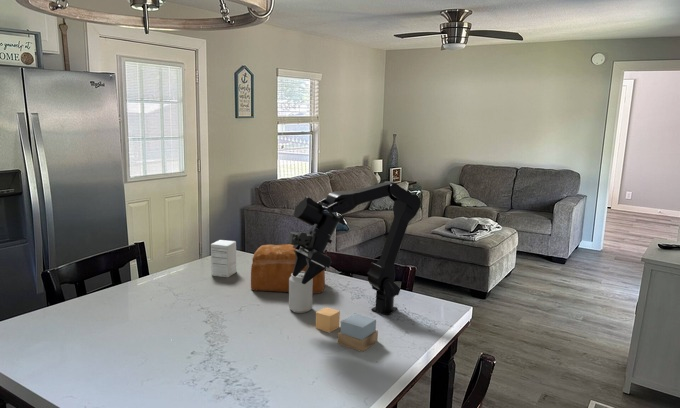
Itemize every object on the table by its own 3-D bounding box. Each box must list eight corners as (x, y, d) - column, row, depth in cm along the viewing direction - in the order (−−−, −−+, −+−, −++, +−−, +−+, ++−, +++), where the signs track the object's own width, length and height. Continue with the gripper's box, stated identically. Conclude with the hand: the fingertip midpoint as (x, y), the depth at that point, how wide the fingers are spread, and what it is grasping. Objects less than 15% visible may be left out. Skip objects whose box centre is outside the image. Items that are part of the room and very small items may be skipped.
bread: (257, 279, 189) (257, 239, 186) (326, 282, 187) (326, 242, 185) (248, 292, 175) (248, 248, 173) (322, 295, 174) (323, 252, 171)
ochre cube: (325, 322, 151) (326, 307, 150) (339, 327, 148) (339, 311, 147) (315, 328, 147) (316, 312, 146) (329, 332, 144) (329, 316, 143)
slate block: (354, 324, 142) (354, 313, 142) (375, 331, 138) (376, 319, 138) (340, 333, 137) (340, 321, 136) (362, 340, 133) (362, 327, 132)
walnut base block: (353, 334, 144) (353, 323, 143) (377, 342, 139) (377, 330, 139) (337, 345, 137) (337, 333, 137) (362, 353, 133) (362, 341, 132)
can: (308, 314, 156) (309, 278, 154) (285, 312, 158) (286, 276, 156) (314, 306, 164) (315, 271, 162) (292, 304, 165) (293, 269, 163)
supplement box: (220, 270, 199) (219, 239, 196) (237, 272, 197) (236, 241, 195) (210, 275, 192) (210, 243, 189) (228, 277, 190) (227, 245, 187)
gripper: (290, 215, 152) (266, 261, 150) (309, 224, 134) (282, 276, 133) (321, 231, 156) (298, 276, 155) (343, 242, 139) (317, 292, 137)
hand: (298, 279), depth 145 cm, fingers open, 9 cm apart
